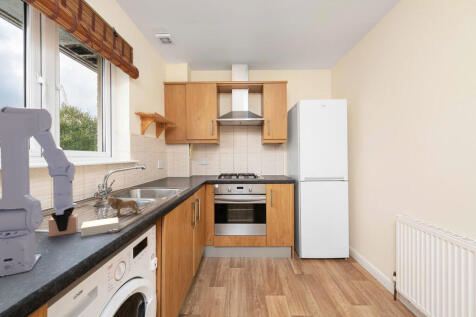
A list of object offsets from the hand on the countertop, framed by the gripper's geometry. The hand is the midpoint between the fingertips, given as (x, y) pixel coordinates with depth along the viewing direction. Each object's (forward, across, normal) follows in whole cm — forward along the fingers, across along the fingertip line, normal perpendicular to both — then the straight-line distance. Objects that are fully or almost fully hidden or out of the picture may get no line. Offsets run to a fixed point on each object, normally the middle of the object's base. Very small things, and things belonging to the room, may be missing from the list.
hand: (64, 228), depth 81 cm
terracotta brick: (+1, 0, 0) cm, 1 cm away
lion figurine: (+2, +16, -21) cm, 26 cm away
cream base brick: (+2, -4, -12) cm, 13 cm away
